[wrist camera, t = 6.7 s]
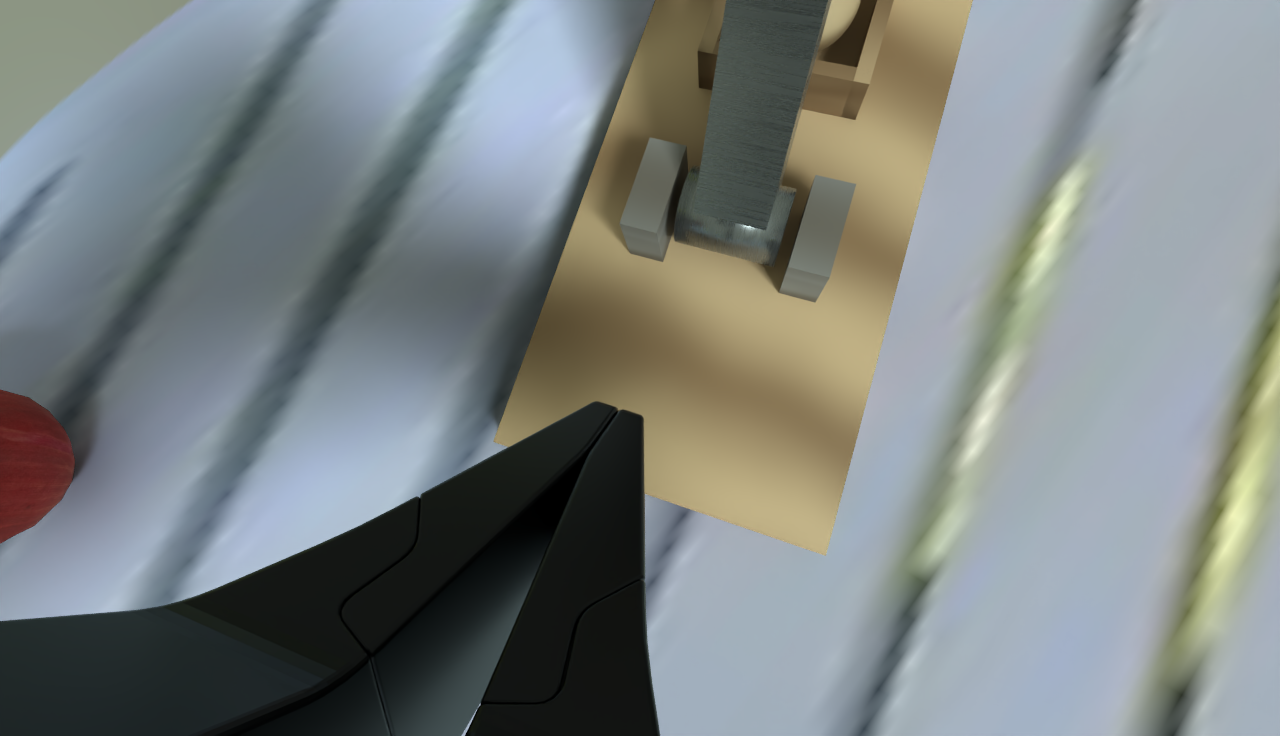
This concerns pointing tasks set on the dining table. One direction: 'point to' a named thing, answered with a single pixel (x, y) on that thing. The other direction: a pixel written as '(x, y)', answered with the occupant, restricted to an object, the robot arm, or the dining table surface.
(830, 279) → the base
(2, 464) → the onion
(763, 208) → the lever
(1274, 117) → the dining table surface
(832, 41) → the beige ball
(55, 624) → the robot arm
